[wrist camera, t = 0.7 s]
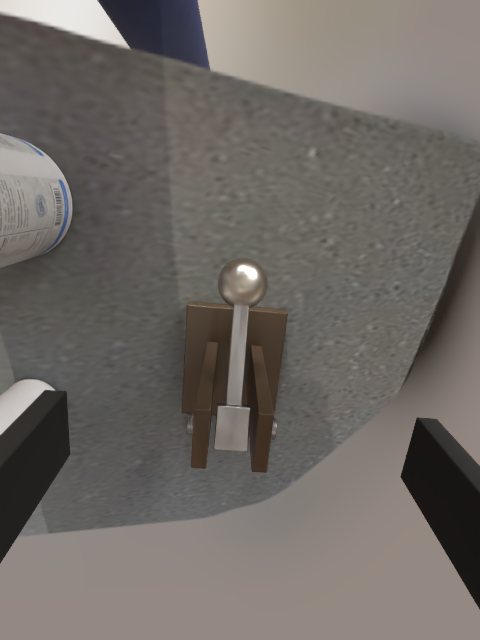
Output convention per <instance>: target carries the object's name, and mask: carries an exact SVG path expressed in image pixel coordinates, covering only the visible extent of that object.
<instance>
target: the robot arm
mask: <svg viewBox="0 0 480 640" xmlns="http://www.w3.org/2000/svg"><path fill="white" fill-rule="evenodd" d="M69 455H70V445H69V427H68V410H67V393H66V391H54V390H44V391H43V392H42V393H41V394H40V395H39V397H38V398H37V399H36V400H35V401H34V402H33V403H32V404H31V405H30V406H29V407H28V408H27V409H26V410H25V411H24V412H23V413H22V414H21V415H20V416H19V417H18V418H17V419H16V420H15V421H14V422H13V423H12V424H11V425H10V426H9V427H8V428H7V429H6V430H5V431H4V432H3V433H2V434H1V435H0V563H1V561H2V560H3V558H4V557H5V555H6V553H7V552H8V551H9V549H10V547H11V546H12V544H13V543H14V541H15V540H16V538H17V536H18V535H19V533H20V532H21V530H22V529H23V527H24V526H25V524H26V522H27V521H28V519H29V518H30V516H31V515H32V513H33V512H34V510H35V508H36V507H37V505H38V504H39V502H40V501H41V499H42V497H43V496H44V494H45V493H46V491H47V490H48V488H49V487H50V485H51V483H52V482H53V480H54V479H55V477H56V476H57V474H58V473H59V471H60V469H61V468H62V466H63V465H64V463H65V462H66V460H67V458H68V457H69ZM401 478H402V480H403V482H404V483H405V485H406V487H407V488H408V490H409V492H410V493H411V495H412V497H413V498H414V500H415V502H416V503H417V505H418V507H419V508H420V510H421V512H422V514H423V515H424V517H425V519H426V520H427V522H428V524H429V525H430V527H431V528H432V530H433V532H434V534H435V535H436V537H437V539H438V540H439V542H440V543H441V545H442V547H443V549H444V550H445V552H446V554H447V555H448V557H449V559H450V560H451V562H452V564H453V565H454V567H455V569H456V570H457V572H458V574H459V576H460V577H461V579H462V581H463V582H464V584H465V585H466V587H467V589H468V590H469V592H470V594H471V596H472V597H473V599H474V601H475V602H476V604H477V606H478V607H479V609H480V466H479V465H478V464H477V463H476V462H475V460H474V459H473V458H472V457H471V456H470V455H469V454H468V453H467V452H466V451H465V450H464V448H463V447H462V446H461V445H460V444H459V443H458V442H457V441H456V440H455V439H454V437H453V436H452V435H451V434H450V433H449V432H448V431H447V430H446V429H445V428H444V427H443V426H442V424H441V423H440V422H439V421H438V420H437V419H430V418H417V419H416V423H415V426H414V430H413V434H412V438H411V441H410V445H409V448H408V452H407V455H406V459H405V463H404V466H403V470H402V473H401Z"/></svg>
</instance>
